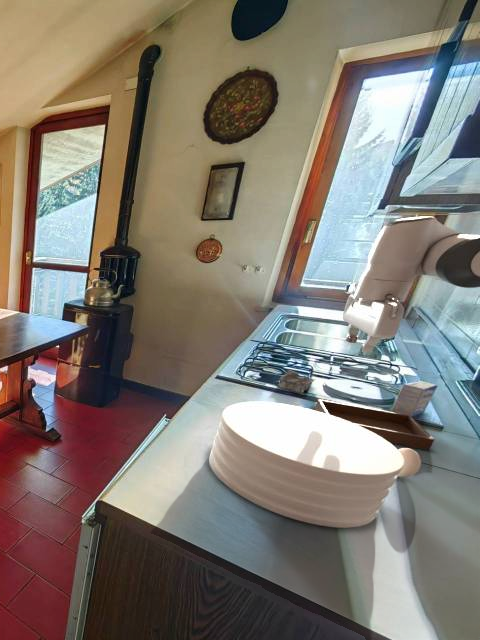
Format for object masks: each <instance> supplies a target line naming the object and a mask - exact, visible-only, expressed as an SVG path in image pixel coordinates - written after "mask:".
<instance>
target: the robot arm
mask: <svg viewBox="0 0 480 640" xmlns="http://www.w3.org/2000/svg"><path fill="white" fill-rule="evenodd" d="M418 276H422V277H424V278H429V279H432V280H436V281H441V282H445V283H448V284H450V285H453V286H456V287H459V288H464V289H465V288H466V289H474V288H480V234H470V233H469V234H468V233H462V232H461V231H458V230H455V229H452V228H450V227H448V226H446V225H444V224H443V223H441V222H440V221H438V219H437V218H436V217H434V216H427V215H425V216H424V215H423V216H416V217H415V216H413V217H405V218H399V219H395V220H392V221H390V222H388V223H387V224H385V225H384V227H383V228H382V229H381V230H380V232H379V234H378V235H377V238H376V239H375V242H374V243H373V245H372V248H371V250H370V252H369V254H368V257H367V265H366V268H365V269H364V271H363V272H362V273H361V275H360V278H359V280H358V281H356V282H354V283H352V284H351V285H350V286H349V288H348V294H349V295H348V297H347V299H346V303H345V306H344V310H343V313H342V320H343V321H345V322H346V323H347V324H348V325H347V334H346V338H345V341H346V342H347V343H349V344H350V343H351V344H355V343H358V342H357V341H358V339H359V332H360V331H362V332H363V333H365V334H367V335H366V341H365V342H364V343H362V344H361V346H360V348H359V350H360V352H362V353H363V354H372V353H373V351H374V350H375V347H376V346H377V345H378V344H379V343H380V342H381V341H382V339H383V340H392V339H393V338H394V337H395V336H396V335H397V334H398V331H399V328H400V325H401V323H402V320H403V317H404V313H405V307H404V306H403V305H402V302H405V301H406V299H407V297H408V295H409V293H410V291H411V288H412V285H413V284H414V282H415V279H416V278H417V277H418Z"/></svg>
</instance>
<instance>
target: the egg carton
mask: <svg viewBox="0 0 480 640" xmlns="http://www.w3.org/2000/svg"><path fill="white" fill-rule="evenodd" d="M278 381H279V383H278V385H277V387H279V388H281V389H284V390H285V389H286V390H291V391H293V392H296V393H304V391H307V390H308V389H310V388H311V387H312V384H313V382H315V381H316V378H312V377H306V376H305V375H303V377H301V376H299V372H297V371H294V370H293V369H289V370H288V371H287V372H286V373H284V374H283V375H282V376H280V377H279V379H278Z"/></svg>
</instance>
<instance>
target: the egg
mask: <svg viewBox="0 0 480 640" xmlns="http://www.w3.org/2000/svg"><path fill="white" fill-rule="evenodd" d="M397 449H398V448H397ZM398 450H399V452H400V453H401V454H402V456H403V458H404V466H403V468H402V470H401V471H400V473H399V474H398V476H397V478H409V477H412V476H414V475H416V474H417V473H418V472H419V470H420V468H421V466H422V461H421V457H420V455H419V453H418V452H417V451H416V450H414V449H412V448H408V447H401V448H399V449H398Z"/></svg>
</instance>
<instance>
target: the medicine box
mask: <svg viewBox="0 0 480 640" xmlns="http://www.w3.org/2000/svg"><path fill="white" fill-rule="evenodd" d="M437 388H438V385H437V384H435V383H430V382H427V381H422V380H414V381H412V382H411V381H410V382H408V383H405V384H402V386H401V388H400V390H399V393H398V394H397V397H396V399H395V401H394V403H393V405H392V408H391V410H390V412H393V413H399V414H405V415H410V416H411V417H412V418H414V417H415V416H419V415H420V414H423V413H425V411H426V409H427V407H428V405H429V404H430V402H431V401H432V398H433V396H434V394H435V392H436V391H437Z"/></svg>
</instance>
